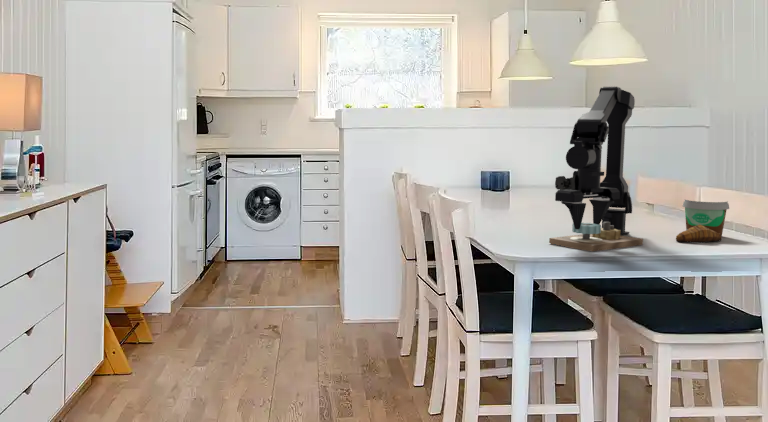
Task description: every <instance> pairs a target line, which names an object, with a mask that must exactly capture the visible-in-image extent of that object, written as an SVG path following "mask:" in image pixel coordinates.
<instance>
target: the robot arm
mask: <svg viewBox="0 0 768 422" xmlns="http://www.w3.org/2000/svg"><path fill="white" fill-rule="evenodd" d="M635 103H636V99H635V96H634V95H633V94H632V93H631V92H629V91H627V90H624V89H622V88H621V87H619V86H603V87H600V88H599V93H598V96H597V97H596V100H595V101H594V103H593V105H592V107H591V108H590V109H589V111H587V112H586V113H583V114H582V115H580V116H579V118H578V119H577V121H576V122H575V123H574V126H573V130H572V133H571V137H570V141H569V145H573V146H572V147H570V148H569V149H568V150H567V152H566V155H565V161H566V164H567V165H568V167H570V168H572V169H574V170H573V172H572V177H566V176H564V175H561V176H560V175H558V176H556V177H555V183H554V187H555V189H556V192H555V193H554V195H555V198H554V200H555V201H556V202H560V203H561V205H565V206H566V208H567V209H568V211H569V213H570V217H571V220H572V224H573V223H574V227H575V229H580V226H581V223H583V222H582V221H583V219H584V214H585V211H586V207H587V203H586V202H583V200H584V199H588V200H589V202H590V204H591V205H592V222H593V223H595V224H600V225H601V228H603V222H610V225H614V229H617V230H621V232H620V236H623V235H628V234H629V235H630V231H626V220H627V219H626V218H627V217H626V216H627V214H632V213H633V203H632V197H631V194H630V192H629V185H628V183H627V181H626V180H625V179H626V178H624V159H625V157H624V156H625V140H626V139H625V138H626V137H625V136H626V124H627V123H628V121H629V120H630V118H631V117H632V115H633V110H634V108H635ZM606 141H607V145H606V164H605V165H606V166H605V167H606V169H605V171H602V152H603V151H602V149H603V147H602V145H604V143H605V142H606ZM604 176H605V177H604ZM601 177H604V178H603V180H602V181H601Z"/></svg>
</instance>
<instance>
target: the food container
mask: <svg viewBox="0 0 768 422" xmlns="http://www.w3.org/2000/svg"><path fill="white" fill-rule="evenodd" d="M682 207H683V208H684V213H685V229H686V230H688V229H689V228H691V227H694V226H697V225H699V224H700V225H702V226H704V227H706V228H708V229H710V230H713V231H715V232H717V233H718V234H720V235H721V236H722V237H723V231H724V226H725V220H726V216H727V210H729V209H730V204H729V201H728V200H727V201H698V200H697V201H696V200H688V199H684V201H683V203H682ZM686 230H685V231H686Z"/></svg>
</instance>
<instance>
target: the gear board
mask: <svg viewBox="0 0 768 422" xmlns="http://www.w3.org/2000/svg"><path fill="white" fill-rule="evenodd" d="M583 225H590V224H583ZM620 232H621V230H617V229H614V225H610V222H603V228H602V227H601V233H598V234H582V233H580V234H573V235H564V236H557V237H556V236H555V237H549V242H548V244H549V243H551V244H550V245H553V244H556V245H555V246H559V245H561V246H560V247H564V246H565V248H571V249H575V250H581V251H582V250H583V251H588V252H597V251H599V252H600V251H606V250H614V249H621V248H628V247H636V246H643V245H644V244H643V243H644V239H643V238H639V237H632V236H628V235H627V236H626V235H625V236H624V235H620Z"/></svg>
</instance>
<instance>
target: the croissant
mask: <svg viewBox="0 0 768 422" xmlns="http://www.w3.org/2000/svg"><path fill="white" fill-rule="evenodd" d="M722 237H723V235H722V236H721V235H720V234H718V233H717V232H715V231H713V230H710V229H708V228H706V227H704V226H702V225H700V224H699V225H697V226H694V227H691V228H689V229H688V230H683V231H681V232H679V233H678V234H677V235H676V237H675V240H676V242H678V243H690V242H693V243H701V242H702V243H712V242H713V243H717V242H720V241H722Z"/></svg>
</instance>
